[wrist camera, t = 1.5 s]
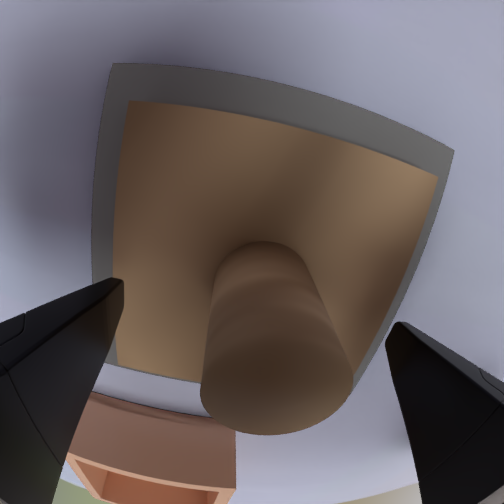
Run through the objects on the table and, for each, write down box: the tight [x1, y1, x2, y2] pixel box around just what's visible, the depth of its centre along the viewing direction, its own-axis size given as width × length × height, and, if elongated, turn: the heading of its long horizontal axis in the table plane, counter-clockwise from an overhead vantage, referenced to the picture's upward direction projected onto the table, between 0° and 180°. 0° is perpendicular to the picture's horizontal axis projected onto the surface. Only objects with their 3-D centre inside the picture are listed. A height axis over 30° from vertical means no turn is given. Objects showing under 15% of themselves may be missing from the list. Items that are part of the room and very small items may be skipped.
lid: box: [113, 100, 438, 435], centre depth 9 cm, size 11×11×6 cm
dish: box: [66, 391, 236, 504], centre depth 15 cm, size 10×10×5 cm
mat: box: [91, 63, 454, 395], centre depth 12 cm, size 14×14×1 cm
